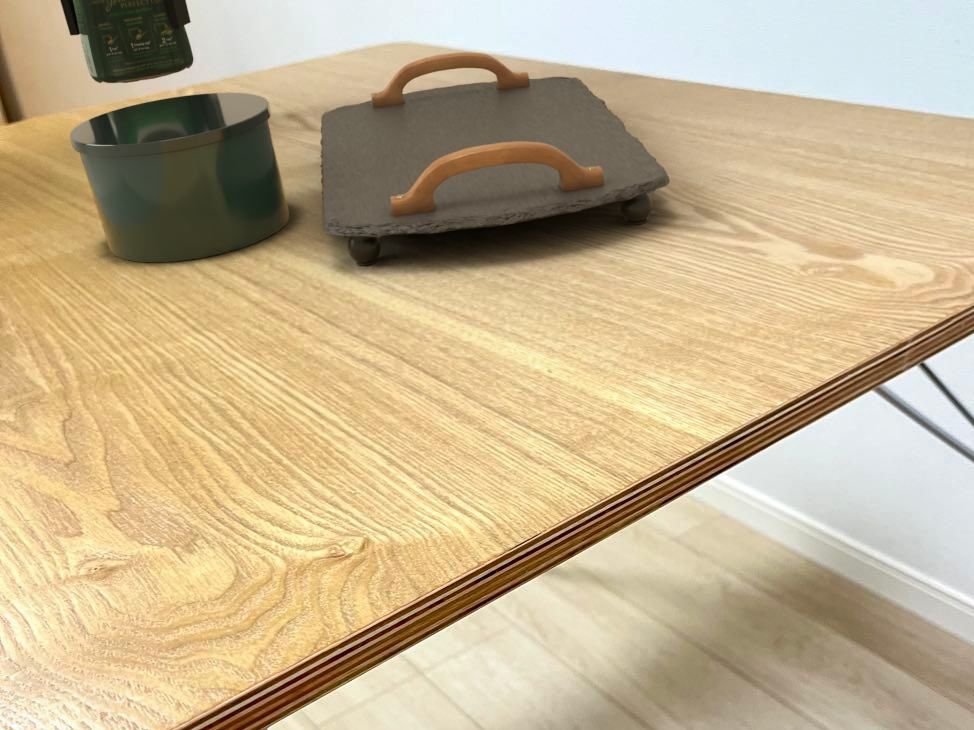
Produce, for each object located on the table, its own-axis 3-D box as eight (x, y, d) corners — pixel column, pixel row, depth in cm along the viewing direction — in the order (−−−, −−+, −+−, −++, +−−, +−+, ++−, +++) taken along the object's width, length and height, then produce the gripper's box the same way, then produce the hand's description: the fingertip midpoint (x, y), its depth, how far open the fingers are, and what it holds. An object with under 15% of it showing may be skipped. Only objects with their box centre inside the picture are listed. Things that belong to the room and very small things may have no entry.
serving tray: (325, 137, 103) (310, 64, 99) (577, 101, 105) (571, 28, 101) (329, 289, 71) (308, 189, 67) (692, 234, 73) (689, 134, 69)
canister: (71, 268, 79) (31, 150, 75) (152, 205, 90) (122, 99, 86) (257, 259, 77) (227, 137, 72) (316, 195, 88) (294, 86, 83)
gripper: (196, -282, 94) (257, 13, 107) (-44, -254, 98) (41, 29, 110) (159, -285, 88) (228, 28, 101) (-96, -255, 92) (1, 44, 104)
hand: (130, 28), depth 105 cm, fingers closed on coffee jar, 9 cm apart
